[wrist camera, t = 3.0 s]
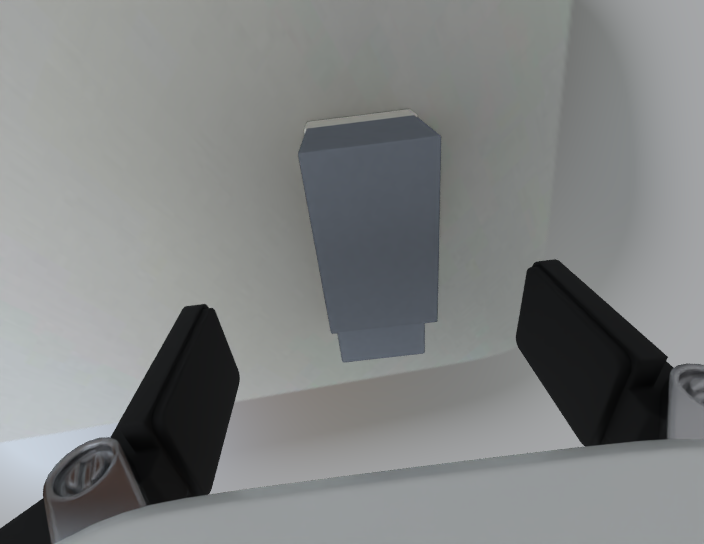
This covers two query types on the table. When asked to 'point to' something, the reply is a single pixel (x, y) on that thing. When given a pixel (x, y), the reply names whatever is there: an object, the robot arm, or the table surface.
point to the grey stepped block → (375, 228)
